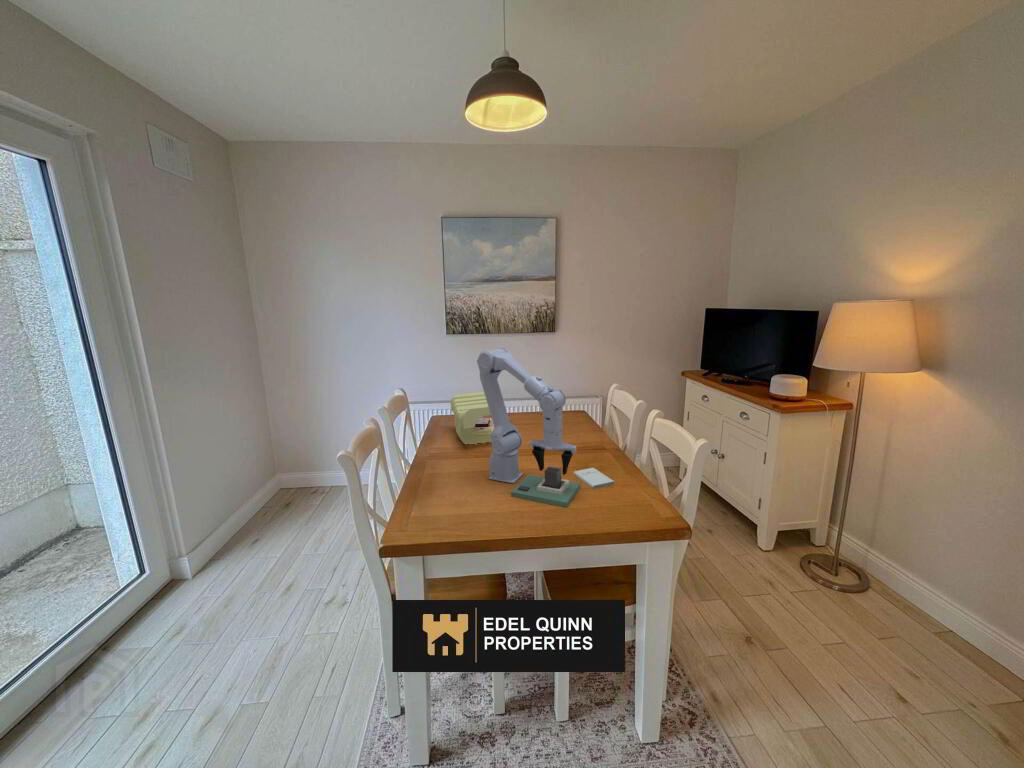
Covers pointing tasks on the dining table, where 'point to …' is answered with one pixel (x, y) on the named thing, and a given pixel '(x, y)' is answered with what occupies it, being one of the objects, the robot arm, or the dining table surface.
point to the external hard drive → (593, 478)
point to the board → (546, 491)
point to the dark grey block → (553, 477)
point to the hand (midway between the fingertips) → (553, 471)
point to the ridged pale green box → (470, 417)
